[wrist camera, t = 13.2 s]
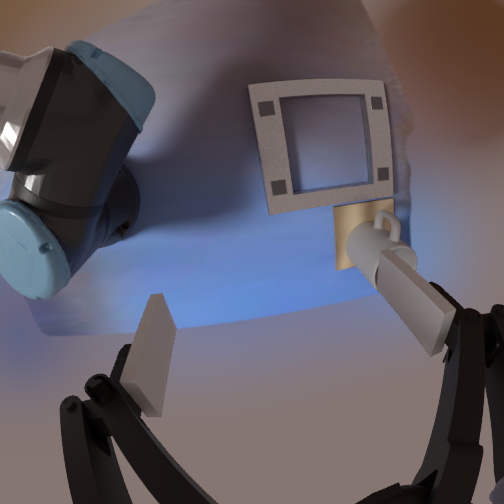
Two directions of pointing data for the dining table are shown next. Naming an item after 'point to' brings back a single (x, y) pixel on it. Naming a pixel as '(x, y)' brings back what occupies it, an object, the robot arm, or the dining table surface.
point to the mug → (377, 245)
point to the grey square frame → (275, 148)
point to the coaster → (356, 224)
